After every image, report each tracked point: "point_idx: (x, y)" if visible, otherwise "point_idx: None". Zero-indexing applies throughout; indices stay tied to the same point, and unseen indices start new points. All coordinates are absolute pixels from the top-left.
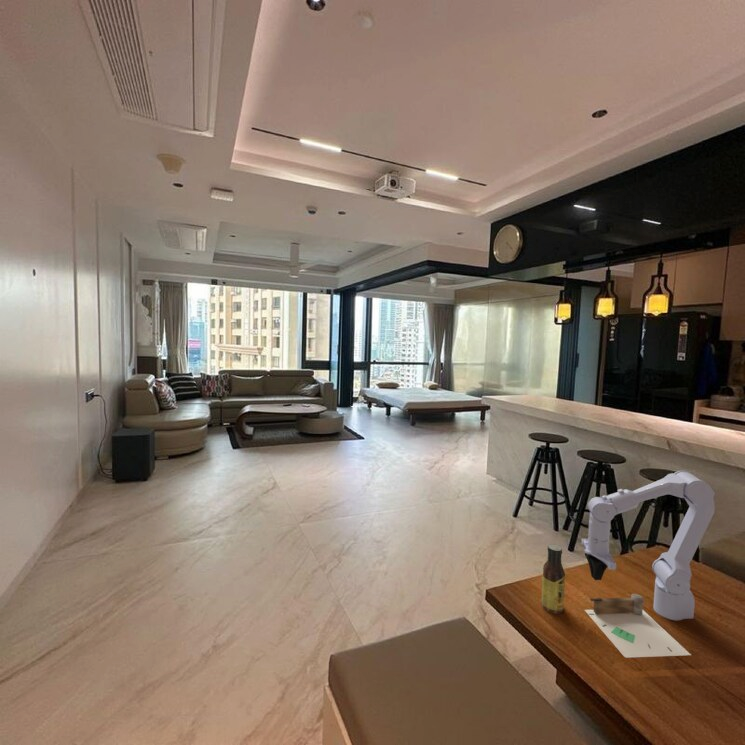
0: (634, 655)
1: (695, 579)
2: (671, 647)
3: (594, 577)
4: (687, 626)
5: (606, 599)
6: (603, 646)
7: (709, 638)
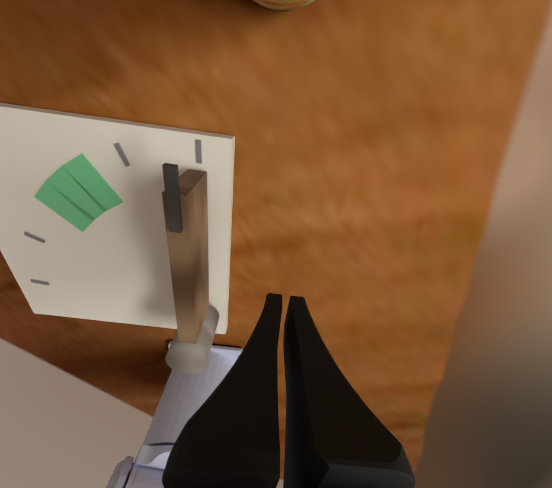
0: None
1: None
2: (52, 291)
3: (266, 302)
4: (167, 369)
5: (181, 252)
6: (6, 57)
7: (130, 376)
